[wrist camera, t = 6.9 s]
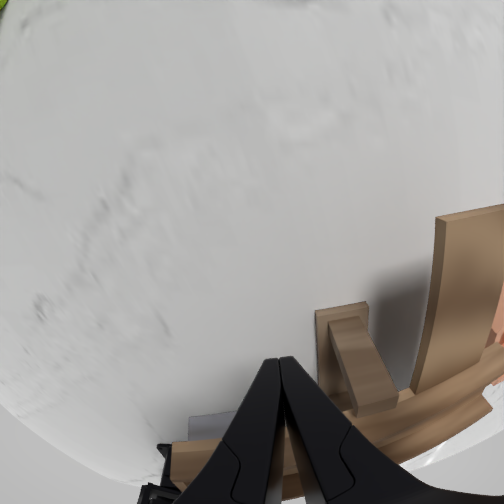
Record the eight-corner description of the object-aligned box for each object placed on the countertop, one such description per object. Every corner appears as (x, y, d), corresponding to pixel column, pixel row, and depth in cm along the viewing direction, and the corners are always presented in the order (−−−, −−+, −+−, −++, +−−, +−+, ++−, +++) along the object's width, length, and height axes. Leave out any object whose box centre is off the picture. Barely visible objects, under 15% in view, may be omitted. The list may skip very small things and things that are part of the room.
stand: (358, 393, 25) (382, 468, 17) (318, 401, 25) (334, 480, 17) (365, 301, 21) (414, 384, 13) (315, 310, 21) (344, 403, 13)
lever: (464, 379, 20) (491, 411, 15) (200, 459, 18) (201, 510, 14) (505, 192, 14) (558, 211, 9) (104, 264, 12) (60, 321, 8)
